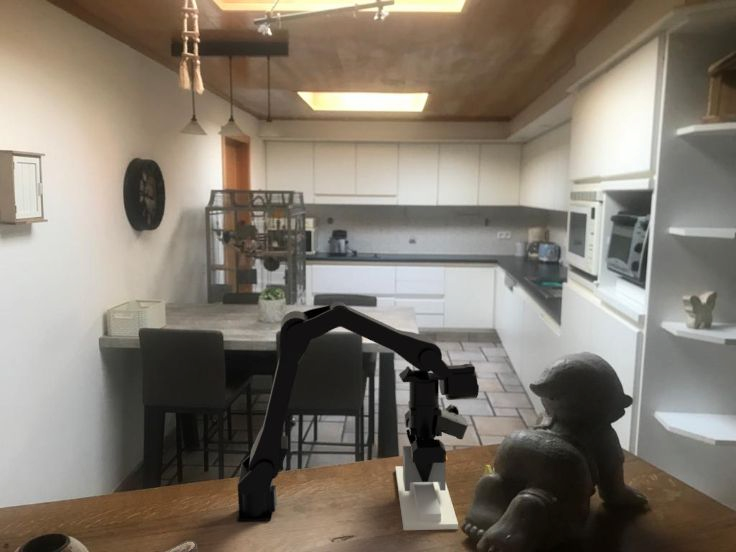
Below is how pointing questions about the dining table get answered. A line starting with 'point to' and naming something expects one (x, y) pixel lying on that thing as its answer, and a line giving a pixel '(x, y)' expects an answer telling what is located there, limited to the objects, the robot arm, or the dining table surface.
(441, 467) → the din module
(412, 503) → the rail plate
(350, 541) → the dining table surface
